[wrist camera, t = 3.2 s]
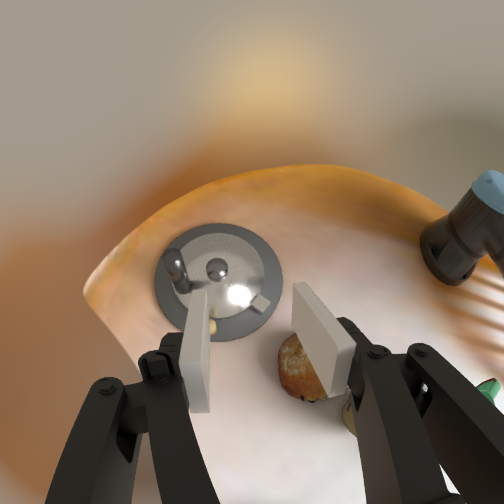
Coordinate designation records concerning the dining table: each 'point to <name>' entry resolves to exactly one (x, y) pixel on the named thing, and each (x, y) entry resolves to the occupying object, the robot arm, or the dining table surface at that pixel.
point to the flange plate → (237, 278)
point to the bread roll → (298, 372)
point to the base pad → (239, 323)
